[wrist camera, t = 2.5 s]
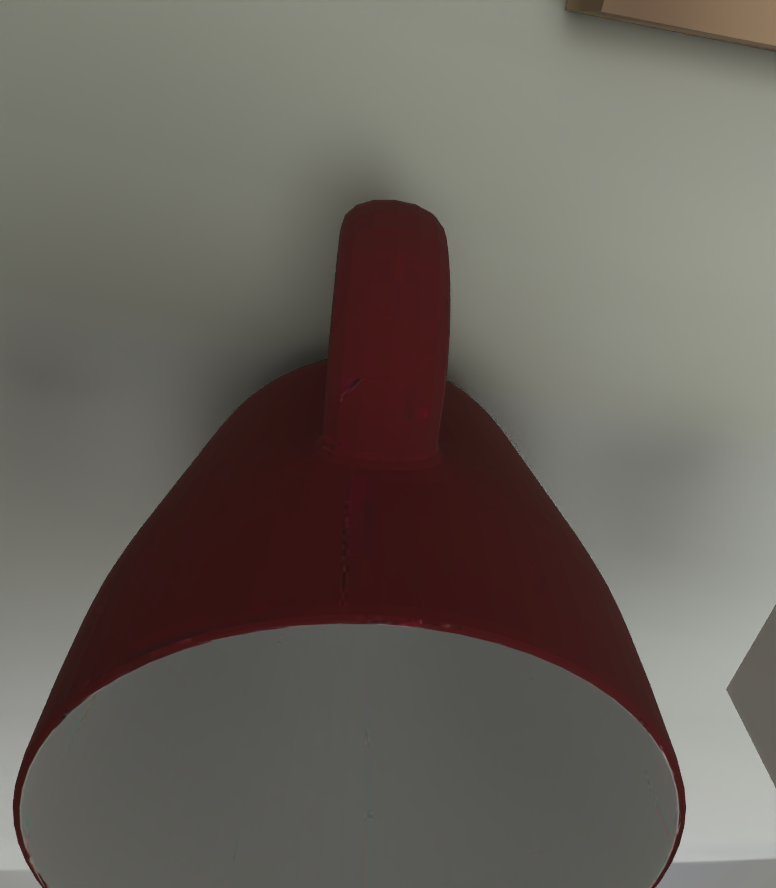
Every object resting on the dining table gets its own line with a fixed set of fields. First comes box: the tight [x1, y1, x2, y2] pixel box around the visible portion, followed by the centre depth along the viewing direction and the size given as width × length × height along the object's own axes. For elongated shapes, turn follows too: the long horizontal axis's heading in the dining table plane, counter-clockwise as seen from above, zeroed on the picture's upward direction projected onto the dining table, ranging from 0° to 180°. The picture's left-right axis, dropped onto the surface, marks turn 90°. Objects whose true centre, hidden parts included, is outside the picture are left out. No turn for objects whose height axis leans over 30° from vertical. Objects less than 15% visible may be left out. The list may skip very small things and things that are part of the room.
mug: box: [13, 200, 686, 888], centre depth 12 cm, size 10×8×10 cm
